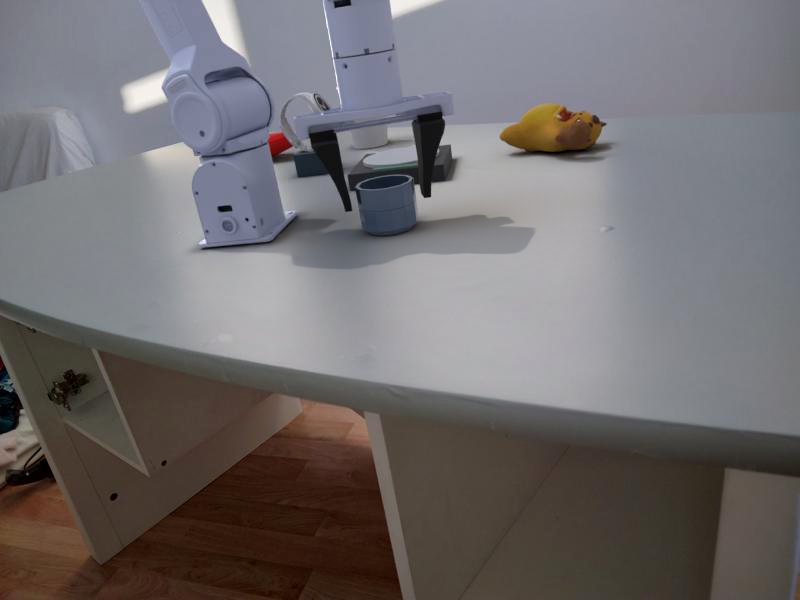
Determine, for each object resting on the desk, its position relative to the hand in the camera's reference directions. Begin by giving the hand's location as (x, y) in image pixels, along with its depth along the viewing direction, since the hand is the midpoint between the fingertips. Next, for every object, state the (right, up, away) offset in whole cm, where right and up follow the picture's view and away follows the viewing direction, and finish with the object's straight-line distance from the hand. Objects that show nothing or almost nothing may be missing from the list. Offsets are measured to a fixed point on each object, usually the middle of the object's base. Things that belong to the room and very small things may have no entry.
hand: (387, 202), depth 62 cm
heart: (-22, +14, +47) cm, 54 cm away
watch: (-11, +9, +32) cm, 35 cm away
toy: (+22, +10, +22) cm, 33 cm away
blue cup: (0, -2, +1) cm, 3 cm away
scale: (+2, +7, +22) cm, 23 cm away
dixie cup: (-4, +16, +45) cm, 48 cm away
